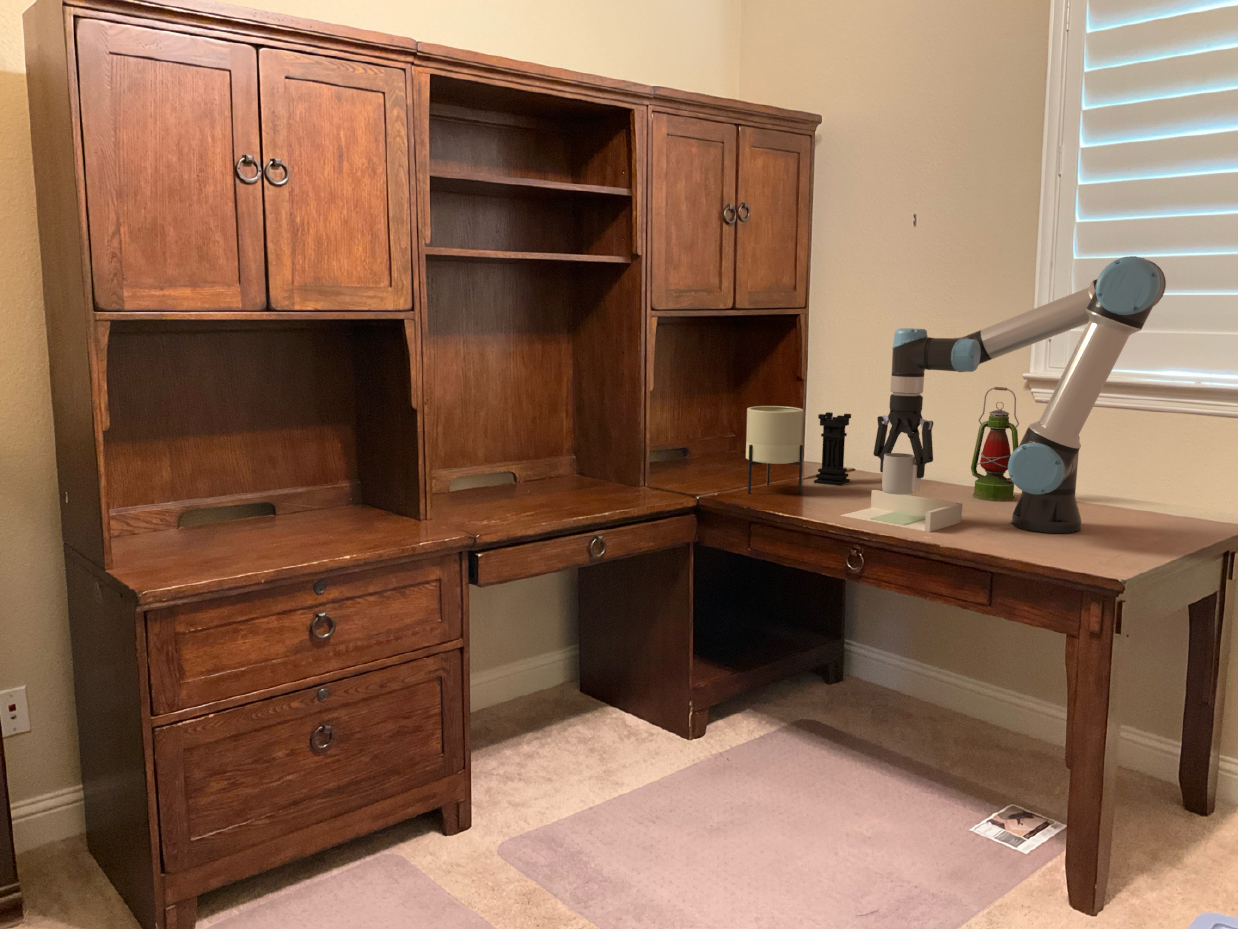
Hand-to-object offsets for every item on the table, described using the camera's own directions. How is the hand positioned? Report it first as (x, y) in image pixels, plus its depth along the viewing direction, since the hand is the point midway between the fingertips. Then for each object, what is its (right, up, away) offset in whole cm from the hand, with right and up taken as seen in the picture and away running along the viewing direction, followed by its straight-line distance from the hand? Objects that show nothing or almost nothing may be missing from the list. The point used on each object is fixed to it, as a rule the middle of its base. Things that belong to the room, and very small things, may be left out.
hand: (900, 488), depth 246 cm
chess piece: (-6, 0, +52) cm, 53 cm away
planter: (-25, -2, +38) cm, 45 cm away
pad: (0, -7, +1) cm, 7 cm away
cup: (0, -1, 0) cm, 1 cm away
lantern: (+34, -3, +31) cm, 46 cm away
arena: (0, -8, +1) cm, 8 cm away
